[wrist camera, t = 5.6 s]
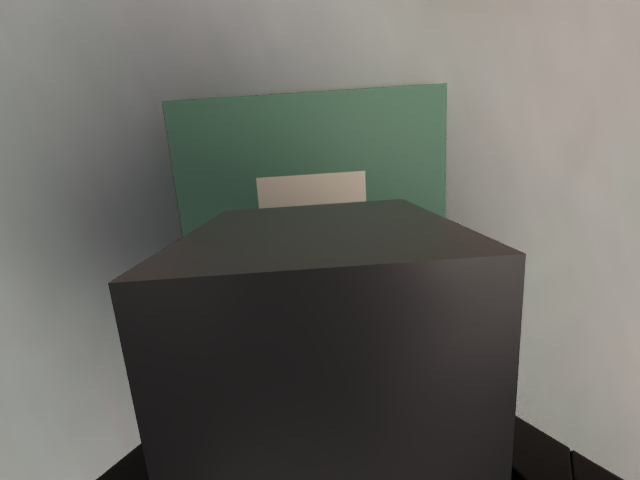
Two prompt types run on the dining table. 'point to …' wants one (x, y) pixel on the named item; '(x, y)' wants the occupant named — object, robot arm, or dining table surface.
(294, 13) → the dining table surface
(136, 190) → the dining table surface
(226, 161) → the board
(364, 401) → the plug block
